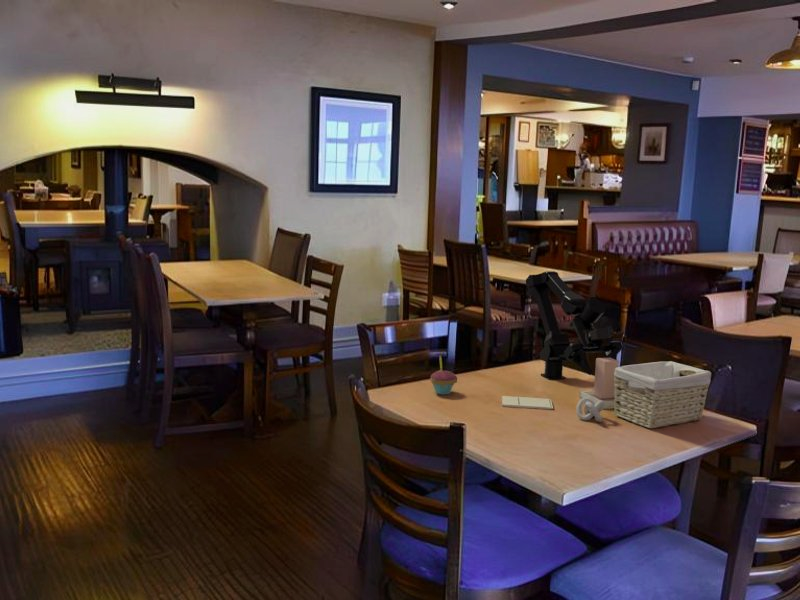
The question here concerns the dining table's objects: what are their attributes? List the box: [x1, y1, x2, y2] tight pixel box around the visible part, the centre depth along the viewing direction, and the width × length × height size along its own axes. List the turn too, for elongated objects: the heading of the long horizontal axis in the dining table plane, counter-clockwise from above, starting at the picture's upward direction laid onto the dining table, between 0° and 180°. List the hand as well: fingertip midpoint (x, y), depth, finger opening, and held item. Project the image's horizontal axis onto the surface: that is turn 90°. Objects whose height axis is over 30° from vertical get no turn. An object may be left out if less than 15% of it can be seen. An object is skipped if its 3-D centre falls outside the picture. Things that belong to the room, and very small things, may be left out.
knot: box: [575, 398, 605, 423], centre depth 202 cm, size 8×8×6 cm
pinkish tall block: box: [593, 357, 620, 402], centre depth 219 cm, size 5×5×13 cm
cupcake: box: [430, 355, 458, 396], centre depth 224 cm, size 9×8×12 cm
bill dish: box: [578, 389, 615, 410], centre depth 220 cm, size 12×10×2 cm
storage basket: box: [613, 360, 712, 429], centre depth 204 cm, size 24×16×15 cm
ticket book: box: [501, 395, 554, 410], centre depth 216 cm, size 9×15×1 cm, turn 83°
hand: (603, 373), depth 220 cm, fingers open, 9 cm apart
